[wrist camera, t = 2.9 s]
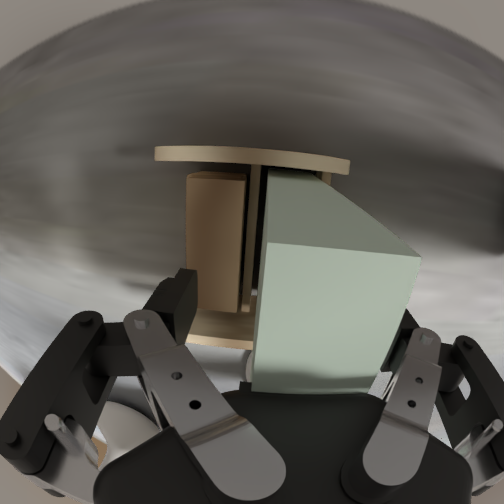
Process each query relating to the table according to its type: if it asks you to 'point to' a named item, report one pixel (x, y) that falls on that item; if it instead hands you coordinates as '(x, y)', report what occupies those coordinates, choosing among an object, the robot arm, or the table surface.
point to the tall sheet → (325, 290)
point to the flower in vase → (123, 430)
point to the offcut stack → (215, 236)
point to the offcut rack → (242, 323)
